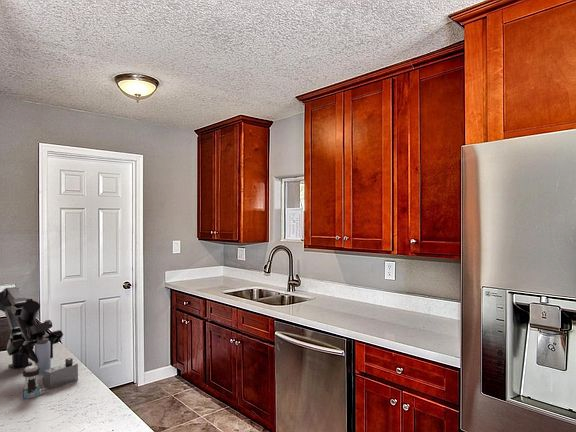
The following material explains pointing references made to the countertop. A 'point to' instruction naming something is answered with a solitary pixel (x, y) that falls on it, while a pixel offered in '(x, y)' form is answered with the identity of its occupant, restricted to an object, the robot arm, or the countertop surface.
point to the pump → (43, 354)
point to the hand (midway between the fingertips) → (44, 360)
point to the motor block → (59, 375)
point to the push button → (31, 382)
